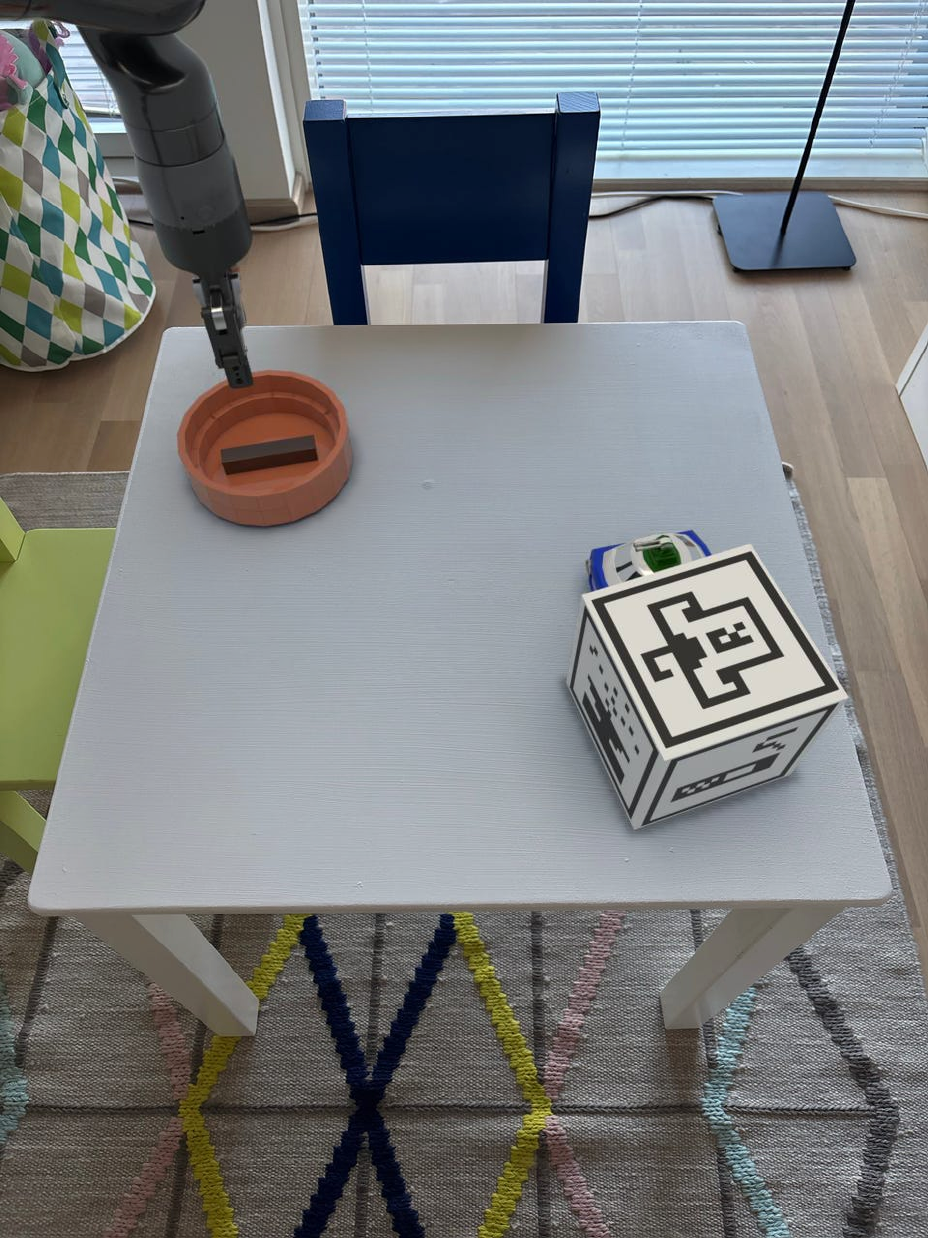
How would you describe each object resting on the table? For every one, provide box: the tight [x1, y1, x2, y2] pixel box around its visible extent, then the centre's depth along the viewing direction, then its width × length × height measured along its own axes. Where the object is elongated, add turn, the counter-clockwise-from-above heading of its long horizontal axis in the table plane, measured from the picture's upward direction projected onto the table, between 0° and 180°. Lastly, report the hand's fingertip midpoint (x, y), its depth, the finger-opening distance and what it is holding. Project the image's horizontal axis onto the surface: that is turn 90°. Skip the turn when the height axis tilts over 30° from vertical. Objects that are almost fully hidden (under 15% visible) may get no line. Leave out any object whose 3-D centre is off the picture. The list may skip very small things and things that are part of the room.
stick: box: [221, 435, 318, 475], centre depth 99 cm, size 2×10×2 cm, turn 102°
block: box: [565, 543, 850, 831], centre depth 76 cm, size 15×15×15 cm
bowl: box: [176, 369, 354, 527], centre depth 98 cm, size 18×18×6 cm
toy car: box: [585, 529, 713, 592], centre depth 86 cm, size 9×12×10 cm
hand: (238, 353), depth 86 cm, fingers open, 8 cm apart
